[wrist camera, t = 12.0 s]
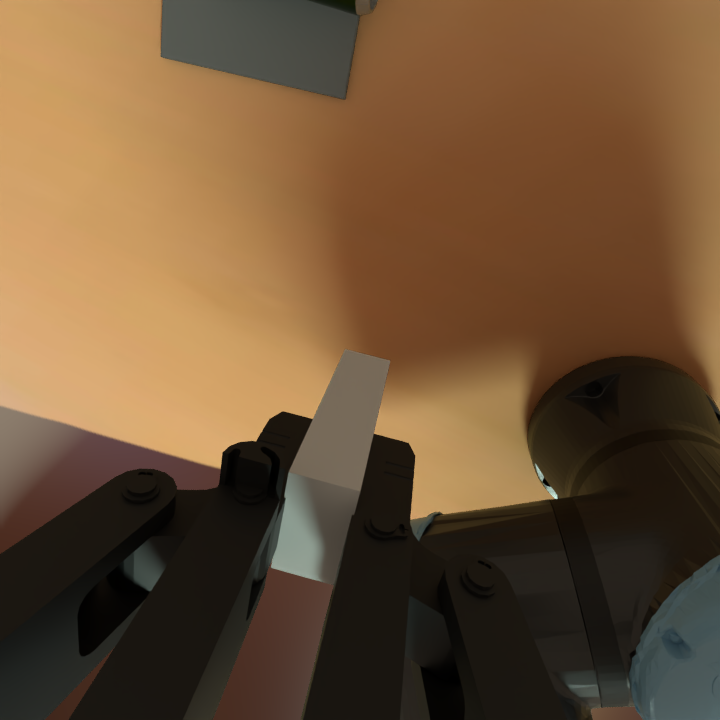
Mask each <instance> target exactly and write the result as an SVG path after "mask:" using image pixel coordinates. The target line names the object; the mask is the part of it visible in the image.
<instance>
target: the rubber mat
mask: <svg viewBox="0 0 720 720" xmlns="http://www.w3.org/2000/svg"><path fill="white" fill-rule="evenodd" d="M359 18H360V16H357V15H354V14H351V13H347V12H344V11H341V10H338V9H334V8H331V7H328V6H325V5H321V4H318V3H315V2H312V1H308V0H163V5H162V36H161V57H163V58H167V59H171V60H175V61H180V62H184V63H188V64H193V65H197V66H201V67H206V68H210V69H214V70H219V71H223V72H227V73H232V74H236V75H241V76H245V77H249V78H254V79H258V80H262V81H267V82H271V83H275V84H280V85H284V86H288V87H293V88H297V89H301V90H306V91H310V92H314V93H319V94H323V95H327V96H332V97H336V98H340V99H346V93H347V87H348V82H349V76H350V70H351V64H352V59H353V53H354V47H355V41H356V36H357V30H358V24H359Z"/></svg>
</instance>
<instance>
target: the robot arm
mask: <svg viewBox="0 0 720 720" xmlns="http://www.w3.org/2000/svg"><path fill="white" fill-rule="evenodd" d="M389 365H390V360H386V359H382V358H378V357H374V356H371V355H367V354H363V353H359V352H355V351H351V350H347V349H345V350H344V353H343V355H342V357H341V359H340V361H339V364H338V366H337V368H336V370H335V372H334V374H333V377H332V379H331V381H330V383H329V385H328V388H327V390H326V392H325V394H324V396H323V398H322V401H321V403H320V405H319V407H318V409H317V411H316V414H315V416H314V418H313V419H310V418H306V417H302V416H299V415H295V414H291V413H287V412H281V413H279V414H277V415H276V416H274V417H272V418H271V419H269V421H268V423H267V424H266V426H265V427H264V429H263V432H261V434H260V436H259V437H258V439H257V441H256V442H255V441H248V442H239V443H237V444H234V445H231V446H229V447H228V448H227V449H226V450H225V451H224V452H223V455H222V464H221V474H220V482H219V485H218V487H217V488H212V489H208V490H177V486H176V484H175V481H174V479H173V478H172V477H170V476H169V475H168V474H166V473H165V472H161V471H158V470H155V469H137V470H132V471H127V472H125V473H123V474H121V475H119V476H116V477H115V478H113V479H112V480H110V481H109V482H107V483H106V484H104V485H103V486H101V487H100V488H98V489H97V490H95V491H94V492H92V493H91V494H89V495H88V496H86V497H85V498H84V499H82V500H81V501H79V502H77V503H76V504H74V505H73V506H71V507H70V508H69V509H67V510H65V511H64V512H63V513H61V514H60V515H58V516H56V517H55V518H53V519H52V520H51V521H49V522H47V523H46V524H45V525H43V526H42V527H40V528H39V529H37V530H36V531H34V532H33V533H31V534H30V535H28V536H27V537H25V538H24V539H22V540H21V541H19V542H18V543H16V544H15V545H13V546H12V547H10V548H9V549H7V550H6V551H4V552H3V553H1V554H0V720H45V719H46V718H47V717H48V716H49V715H50V714H51V713H52V712H53V711H54V710H55V708H56V707H57V706H58V705H59V704H60V703H61V702H62V701H63V700H64V699H65V698H66V697H67V696H68V695H69V694H70V693H71V692H72V691H73V690H74V689H75V688H76V687H77V686H78V685H79V684H80V683H81V681H82V680H83V679H84V678H85V677H86V676H87V675H88V674H89V673H90V672H91V671H92V670H93V669H94V668H95V667H96V666H97V665H98V664H99V663H100V662H101V661H102V660H103V659H104V658H105V657H106V655H107V654H108V653H109V652H110V651H111V650H112V649H113V648H114V647H115V648H114V649H113V651H112V653H111V654H110V656H109V657H108V659H107V661H106V662H105V664H104V665H103V667H102V668H101V670H100V671H99V673H98V674H97V676H96V678H95V679H94V681H93V682H92V684H91V685H90V687H89V689H88V690H87V692H86V693H85V695H84V697H83V698H82V700H81V701H80V703H79V704H78V706H77V707H76V709H75V710H74V712H73V714H72V715H71V717H70V718H69V720H213V717H214V715H215V712H216V709H217V707H218V705H219V702H220V700H221V697H222V694H223V692H224V689H225V687H226V684H227V682H228V679H229V676H230V674H231V671H232V669H233V666H234V664H235V661H236V658H237V656H238V654H239V651H240V648H241V646H242V643H243V641H244V638H245V636H246V633H247V631H248V628H249V625H250V623H251V620H252V618H253V615H254V613H255V610H256V608H257V605H258V602H259V600H260V597H261V594H262V592H263V590H264V586H265V580H266V575H267V571H268V568H269V566H270V563H271V561H272V566H271V568H274V569H278V570H281V571H285V572H288V573H292V574H296V575H300V576H303V577H306V578H310V579H314V580H317V581H321V582H325V583H328V584H331V585H334V587H333V591H332V595H331V599H330V602H329V606H328V610H327V614H326V618H325V621H324V626H323V630H322V635H321V639H320V643H319V647H318V651H317V655H316V659H315V663H314V668H313V671H312V676H311V679H310V684H309V688H308V692H307V696H306V700H305V704H304V708H303V712H302V716H301V720H593V719H592V715H591V709H592V708H600V707H602V708H603V707H623V706H628V707H630V706H635V708H636V711H637V712H638V713H639V714H640V715H641V717H642V718H643V720H720V411H719V409H718V407H717V405H716V404H715V402H714V401H713V399H712V398H711V396H710V395H709V394H708V393H707V392H706V391H705V390H704V389H703V388H702V387H701V386H700V385H699V384H698V383H697V382H696V381H695V380H694V379H693V378H692V377H690V376H689V375H688V374H687V373H685V372H684V371H682V370H680V369H679V368H677V367H675V366H673V365H670V364H668V363H665V362H663V361H659V360H656V359H651V358H644V357H615V358H609V359H604V360H600V361H596V362H593V363H590V364H587V365H585V366H582V367H580V368H578V369H576V370H574V371H572V372H571V373H569V374H567V375H566V376H564V377H563V378H561V379H560V380H559V381H558V382H556V383H555V384H554V385H553V386H552V387H551V388H550V389H549V390H548V391H547V392H546V393H545V394H544V396H543V397H542V398H541V400H540V401H539V403H538V404H537V406H536V408H535V410H534V412H533V414H532V417H531V420H530V424H529V429H528V447H529V452H530V456H531V459H532V463H533V466H534V469H535V472H536V474H537V476H538V478H539V480H540V481H541V483H542V484H543V486H544V487H545V489H546V490H547V491H548V492H549V493H550V494H551V495H552V496H553V497H554V498H555V499H552V500H549V499H548V500H542V501H535V502H529V503H522V504H516V505H509V506H503V507H496V508H488V509H481V510H473V511H466V512H458V513H451V514H442V513H441V512H434V513H431V514H429V515H428V516H427V517H423V518H418V519H413V520H410V514H411V502H412V490H413V478H414V466H415V455H414V453H413V451H412V449H411V447H410V445H409V443H406V442H403V441H399V440H395V439H391V438H387V437H384V436H380V435H376V434H374V430H375V426H376V421H377V417H378V413H379V408H380V404H381V400H382V395H383V391H384V387H385V382H386V378H387V374H388V369H389ZM272 558H273V560H272Z"/></svg>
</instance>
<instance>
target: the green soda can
mask: <svg viewBox="0 0 720 720" xmlns="http://www.w3.org/2000/svg"><path fill="white" fill-rule="evenodd" d="M308 1H312V2H315V3H318V4H321V5H325V6H328V7H331V8H334V9H338V10H341V11H344V12H347V13H351V14H354V15H357V16H360V15H365V14H370V13H372V12H373V11H374V9H375V7H376V5H377V2H378V0H308Z"/></svg>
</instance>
